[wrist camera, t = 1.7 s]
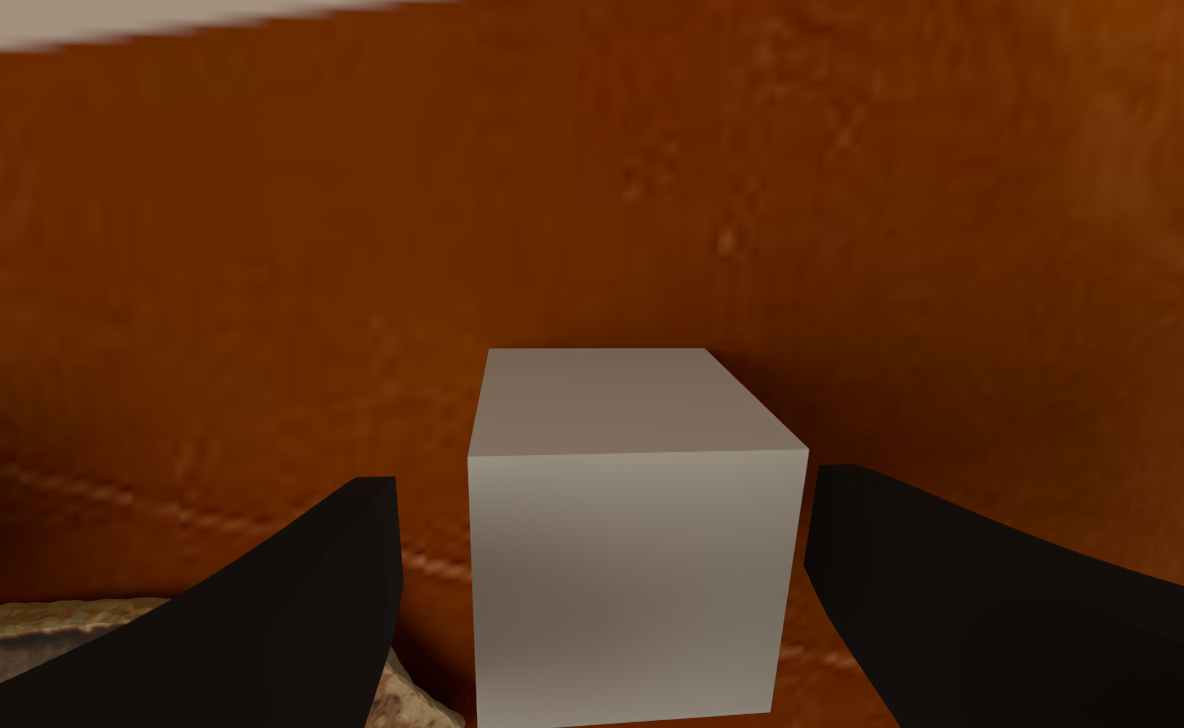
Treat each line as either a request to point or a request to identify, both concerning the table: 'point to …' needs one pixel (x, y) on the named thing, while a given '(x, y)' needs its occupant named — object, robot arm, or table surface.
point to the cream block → (627, 538)
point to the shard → (47, 630)
